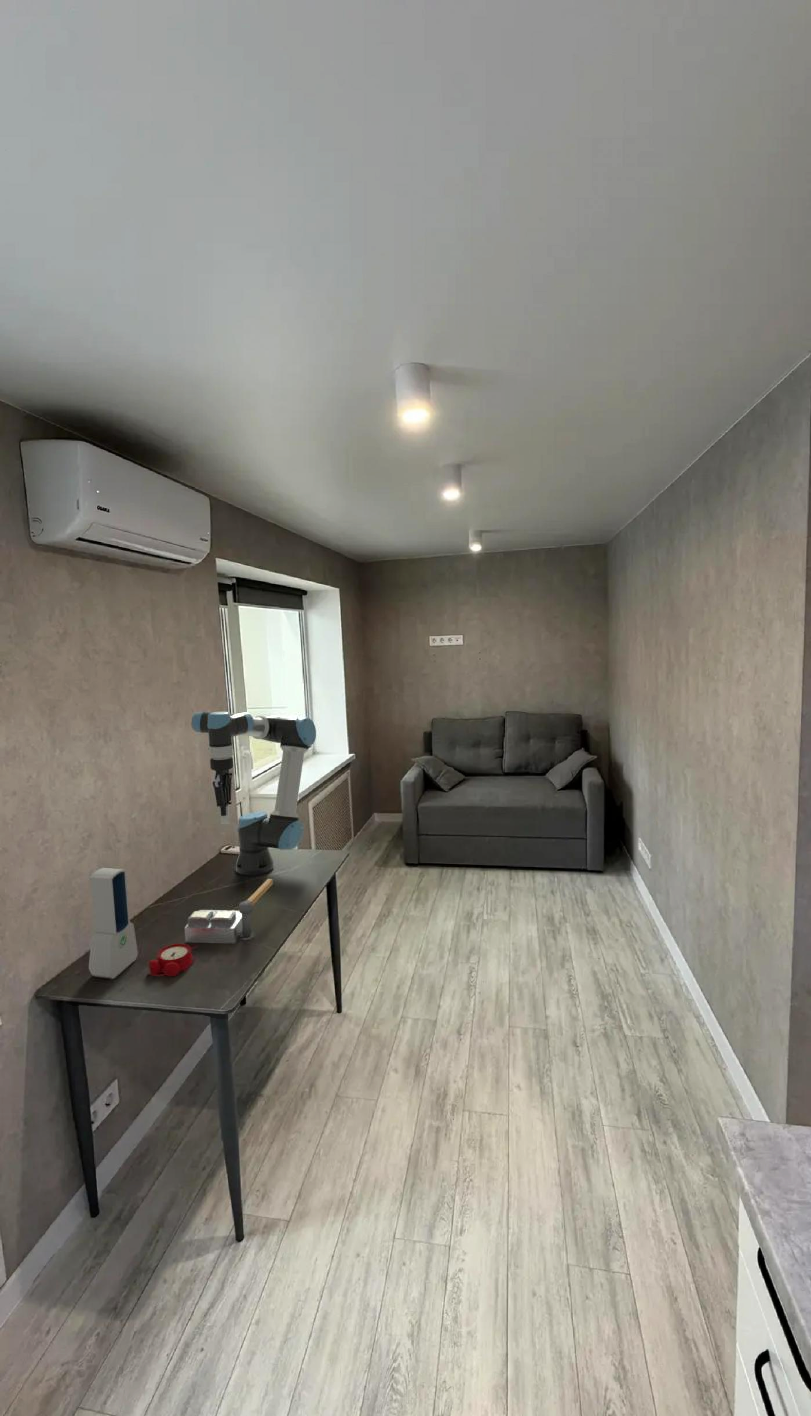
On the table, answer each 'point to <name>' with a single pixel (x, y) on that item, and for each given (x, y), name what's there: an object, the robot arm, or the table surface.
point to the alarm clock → (172, 960)
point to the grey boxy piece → (215, 927)
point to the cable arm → (247, 905)
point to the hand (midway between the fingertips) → (225, 823)
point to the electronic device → (111, 924)
